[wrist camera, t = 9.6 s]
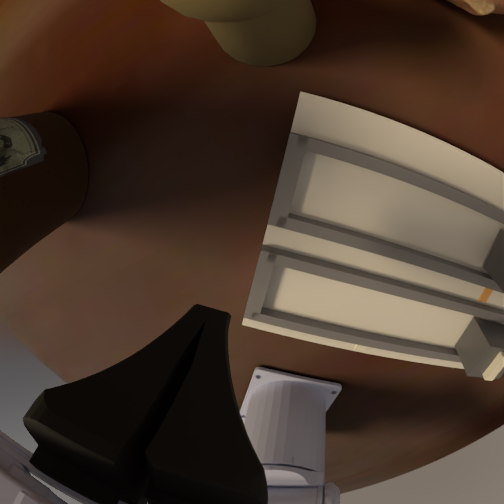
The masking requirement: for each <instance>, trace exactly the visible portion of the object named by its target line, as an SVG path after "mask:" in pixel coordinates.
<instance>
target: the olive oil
mask: <svg viewBox="0 0 504 504" xmlns="http://www.w3.org/2000/svg"><path fill="white" fill-rule="evenodd" d="M87 187H88V162H87V156H86V152H85V149H84V146H83V143H82V141H81V138H80V136H79V135H78V133H77V131H76V130H75V128H74V127H73V126H72V125H71V123H70V122H69V121H68V120H66V119H65V118H64V117H62V116H60V115H58V114H56V113H51V112H41V113H34V114H28V115H22V116H16V117H9V118H0V273H1V272H2V271H3V270H5V269H6V268H7V267H8V266H9V265H10V264H12V263H13V262H14V261H15V260H16V259H18V258H19V257H20V256H21V255H22V254H24V253H25V252H26V251H27V250H29V249H30V248H31V247H32V246H34V245H35V244H36V243H38V242H39V241H40V240H42V239H43V238H44V237H46V236H47V235H48V234H50V233H51V232H53V231H54V230H55V229H57V228H58V227H60V226H61V225H62V224H64V223H65V222H67V221H68V220H69V219H71V218H72V217H73V216H74V215H75V214H76V213H77V212H78V211H79V209H80V208H81V206H82V204H83V202H84V199H85V196H86V192H87Z"/></svg>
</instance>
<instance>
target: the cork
mask: <svg viewBox="0 0 504 504" xmlns="http://www.w3.org/2000/svg"><path fill="white" fill-rule="evenodd" d="M160 1H161V2H163V3H164V4H166V5H168V6H169V7H171V8H173V9H174V10H176V11H178V12H179V13H181V14H183V15H184V16H186V17H190V18H194V19H199V20H203V21H204V22H205V23H206V25H207V26H208V28H209V29H210V31H211V32H212V34H213V36H214V37H215V39H216V40H217V42H218V43H219V45H220V46H221V47H222V49H223V50H224V52H226V53H227V54H228V55H230V56H231V57H233V58H234V59H235V60H237V61H240V62H243V63H245V64H248V65H251V66H264V67H269V66H274V65H279V64H284V63H286V62H288V61H290V60H292V59H294V58H296V57H298V56H299V55H300V54H301V53H302V52H303V51H304V50H305V49H306V48H307V47H308V46H309V44H310V42H311V40H312V38H313V36H314V34H315V30H316V16H315V12H314V9H313V6H312V3H311V0H160Z"/></svg>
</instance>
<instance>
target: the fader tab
mask: <svg viewBox="0 0 504 504" xmlns="http://www.w3.org/2000/svg"><path fill="white" fill-rule="evenodd" d="M483 268H484V269H485V270H486V272H487V273H488V274H489V275H490V276H491V278H492V279H493V280H494V281H495V283H496V284H497V285H498V286H499V288H500V289H501V290H502V291H503V293H504V230H502V229H500V231H499V233H498V235H497V238H496V240H495V242H494V244H493V246H492V249H491V251H490V253H489V255H488V257H487V259H486V261H485V263H484V265H483Z"/></svg>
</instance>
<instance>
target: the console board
mask: <svg viewBox="0 0 504 504" xmlns="http://www.w3.org/2000/svg"><path fill="white" fill-rule="evenodd" d="M500 229H502V230H504V173H503V172H502V171H500V170H498V169H496V168H495V167H493V166H491V165H489V164H487V163H486V162H484V161H482V160H480V159H478V158H476V157H474V156H472V155H470V154H468V153H467V152H465V151H463V150H460V149H458V148H456V147H454V146H452V145H450V144H448V143H446V142H444V141H442V140H439V139H437V138H435V137H433V136H430V135H428V134H426V133H423V132H421V131H419V130H416V129H414V128H411V127H409V126H407V125H404V124H401V123H399V122H396V121H394V120H391V119H388V118H386V117H383V116H380V115H377V114H374V113H372V112H369V111H366V110H363V109H360V108H357V107H354V106H350V105H347V104H344V103H341V102H337V101H334V100H331V99H327V98H324V97H320V96H316V95H313V94H309V93H305V92H301V91H300V95H299V99H298V103H297V108H296V112H295V116H294V120H293V124H292V128H291V132H290V135H289V139H288V143H287V147H286V151H285V155H284V159H283V164H282V168H281V172H280V176H279V180H278V184H277V188H276V192H275V196H274V200H273V204H272V208H271V212H270V216H269V220H268V225H267V229H266V233H265V237H264V241H263V245H262V248H261V252H260V255H259V259H258V263H257V267H256V271H255V275H254V279H253V283H252V287H251V291H250V295H249V299H248V303H247V306H246V310H245V314H244V319H243V323H242V325H245V326H249V327H253V328H257V329H260V330H264V331H268V332H272V333H276V334H280V335H284V336H289V337H293V338H297V339H301V340H306V341H310V342H314V343H319V344H323V345H328V346H333V347H337V348H342V349H347V350H352V351H357V352H362V353H367V354H373V355H378V356H383V357H389V358H395V359H400V360H406V361H412V362H419V363H425V364H432V365H439V366H446V367H453V368H461V369H464V367H463V364H462V362H461V360H460V357H459V355H458V353H457V351H456V348H455V344H456V343H457V341H458V340H459V339H460V337H461V336H462V334H463V333H464V331H465V330H466V328H467V326H468V325H469V323H470V322H471V320H472V319H473V317H476V318H480V319H484V320H488V321H492V322H496V323H500V324H504V293H503V291H502V290H501V289H500V288H499V286H498V285H497V284H496V283H495V281H494V280H493V279H492V278H491V276H490V275H489V274H488V273H487V272H486V270H485V269H484V268H483V265H484V263H485V261H486V259H487V257H488V255H489V253H490V251H491V249H492V246H493V244H494V242H495V240H496V238H497V235H498V233H499V231H500Z"/></svg>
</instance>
